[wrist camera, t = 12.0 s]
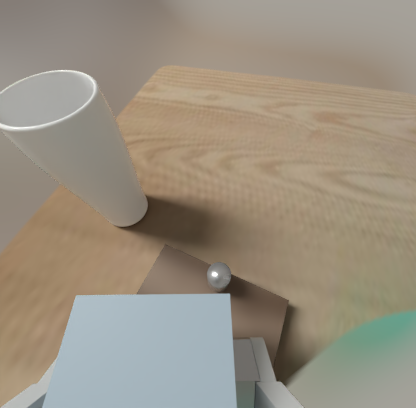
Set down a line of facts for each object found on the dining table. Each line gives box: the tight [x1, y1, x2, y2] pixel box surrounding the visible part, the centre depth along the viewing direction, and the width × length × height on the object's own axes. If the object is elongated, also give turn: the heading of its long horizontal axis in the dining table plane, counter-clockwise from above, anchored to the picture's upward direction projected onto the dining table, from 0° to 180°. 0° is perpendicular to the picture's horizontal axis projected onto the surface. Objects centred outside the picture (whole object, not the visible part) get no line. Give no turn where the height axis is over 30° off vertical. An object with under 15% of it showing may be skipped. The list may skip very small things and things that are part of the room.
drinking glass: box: [0, 70, 148, 227], centre depth 19 cm, size 7×7×15 cm
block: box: [42, 294, 237, 408], centre depth 8 cm, size 4×4×8 cm
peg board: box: [136, 244, 289, 381], centre depth 16 cm, size 13×13×5 cm
